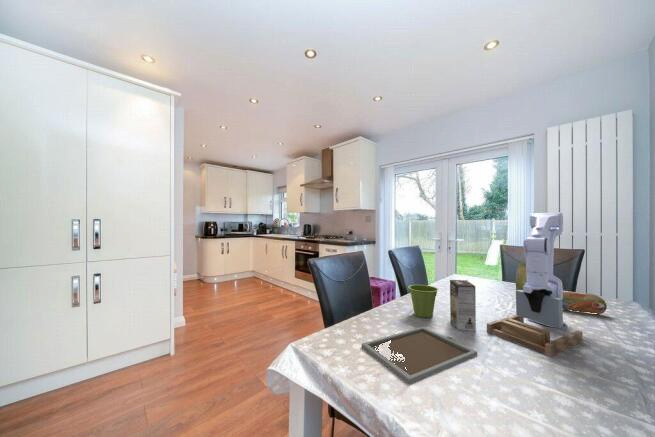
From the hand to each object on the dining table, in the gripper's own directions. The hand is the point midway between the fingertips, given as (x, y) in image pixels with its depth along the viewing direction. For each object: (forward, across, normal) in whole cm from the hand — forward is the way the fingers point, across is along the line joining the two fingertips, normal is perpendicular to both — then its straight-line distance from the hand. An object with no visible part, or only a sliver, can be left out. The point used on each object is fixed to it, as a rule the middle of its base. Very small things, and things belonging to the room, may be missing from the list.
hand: (538, 311), depth 82 cm
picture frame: (+8, -45, +10) cm, 47 cm away
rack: (+8, -4, 0) cm, 9 cm away
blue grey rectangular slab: (+3, 0, 0) cm, 3 cm away
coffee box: (+8, -17, +16) cm, 25 cm away
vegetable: (+8, +35, +20) cm, 41 cm away
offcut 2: (+8, -7, 0) cm, 11 cm away
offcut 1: (+8, -11, 0) cm, 13 cm away
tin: (+8, +43, +3) cm, 44 cm away
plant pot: (+8, -22, +30) cm, 38 cm away
